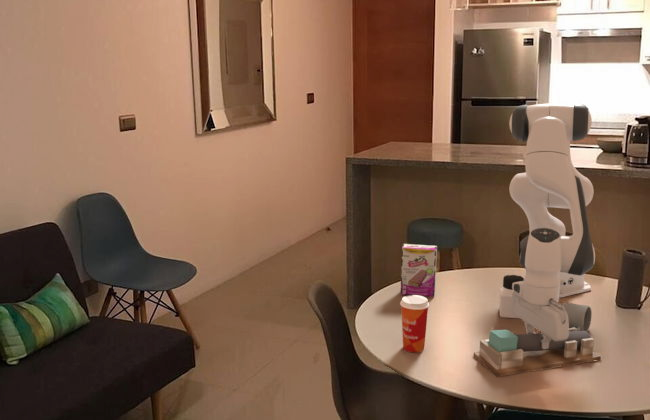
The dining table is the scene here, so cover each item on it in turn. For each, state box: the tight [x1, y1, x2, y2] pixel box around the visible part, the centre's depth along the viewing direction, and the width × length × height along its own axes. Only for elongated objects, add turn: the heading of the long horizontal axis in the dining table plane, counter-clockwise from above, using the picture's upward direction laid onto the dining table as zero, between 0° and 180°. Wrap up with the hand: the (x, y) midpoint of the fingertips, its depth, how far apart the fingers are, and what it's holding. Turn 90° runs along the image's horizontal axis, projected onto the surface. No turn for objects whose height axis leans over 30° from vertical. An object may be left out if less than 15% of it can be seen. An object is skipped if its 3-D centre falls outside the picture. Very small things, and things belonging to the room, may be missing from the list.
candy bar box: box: [400, 243, 438, 298], centre depth 219 cm, size 11×5×16 cm, turn 78°
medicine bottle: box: [498, 273, 524, 320], centre depth 202 cm, size 7×7×12 cm
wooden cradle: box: [473, 327, 602, 377], centre depth 174 cm, size 30×12×5 cm, turn 107°
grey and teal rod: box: [488, 329, 592, 353], centre depth 174 cm, size 28×5×5 cm, turn 107°
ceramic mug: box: [561, 302, 592, 332], centre depth 191 cm, size 11×8×8 cm
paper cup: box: [399, 295, 430, 354], centre depth 179 cm, size 8×8×14 cm
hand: (537, 343), depth 174 cm, fingers closed on grey and teal rod, 4 cm apart
